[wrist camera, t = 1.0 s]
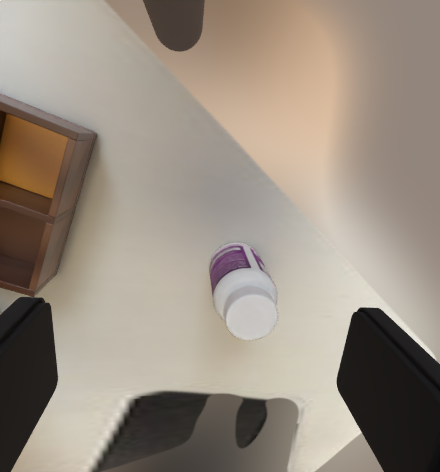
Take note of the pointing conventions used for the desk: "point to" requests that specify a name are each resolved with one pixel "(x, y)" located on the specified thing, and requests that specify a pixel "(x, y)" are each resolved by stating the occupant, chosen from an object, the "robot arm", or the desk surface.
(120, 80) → the desk surface
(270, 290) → the pill bottle
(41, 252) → the grid
